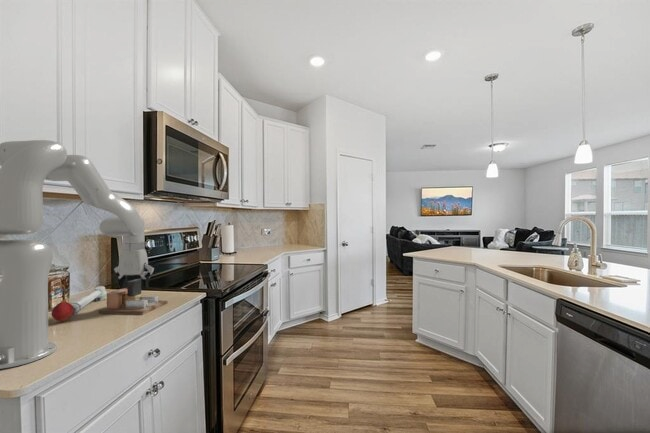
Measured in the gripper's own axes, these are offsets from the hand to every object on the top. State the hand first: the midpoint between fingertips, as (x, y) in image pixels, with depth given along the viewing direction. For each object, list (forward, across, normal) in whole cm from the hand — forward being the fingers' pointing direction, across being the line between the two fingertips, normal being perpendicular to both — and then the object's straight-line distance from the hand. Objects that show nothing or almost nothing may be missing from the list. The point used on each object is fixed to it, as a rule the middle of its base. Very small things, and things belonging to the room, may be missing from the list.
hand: (134, 288), depth 114 cm
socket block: (+7, -6, 0) cm, 10 cm away
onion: (+8, -14, -16) cm, 23 cm away
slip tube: (+6, -3, 0) cm, 7 cm away
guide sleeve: (+7, +4, 0) cm, 8 cm away
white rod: (+9, -23, +2) cm, 25 cm away
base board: (+8, 0, 0) cm, 8 cm away
